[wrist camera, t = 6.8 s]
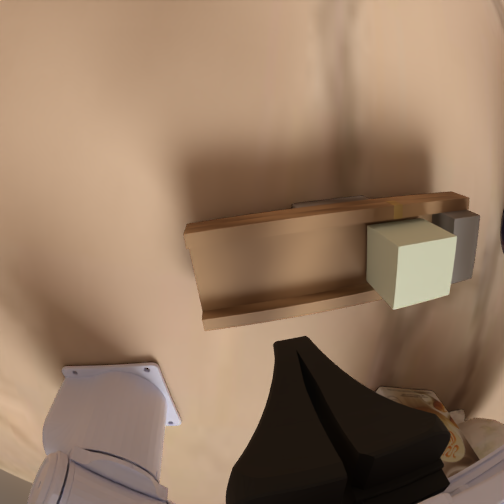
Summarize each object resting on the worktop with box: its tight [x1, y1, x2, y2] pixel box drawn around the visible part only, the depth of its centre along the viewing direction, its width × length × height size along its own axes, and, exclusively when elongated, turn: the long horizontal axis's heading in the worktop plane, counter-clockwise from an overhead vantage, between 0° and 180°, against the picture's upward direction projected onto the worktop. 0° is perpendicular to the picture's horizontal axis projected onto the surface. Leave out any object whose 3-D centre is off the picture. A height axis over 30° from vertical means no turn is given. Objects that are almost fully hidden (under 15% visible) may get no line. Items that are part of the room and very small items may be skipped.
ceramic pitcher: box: [448, 409, 504, 460], centre depth 23 cm, size 22×20×25 cm
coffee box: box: [376, 387, 480, 478], centre depth 22 cm, size 9×6×16 cm
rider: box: [366, 218, 457, 310], centre depth 17 cm, size 4×4×4 cm
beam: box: [183, 192, 480, 331], centre depth 19 cm, size 18×6×5 cm, turn 97°
